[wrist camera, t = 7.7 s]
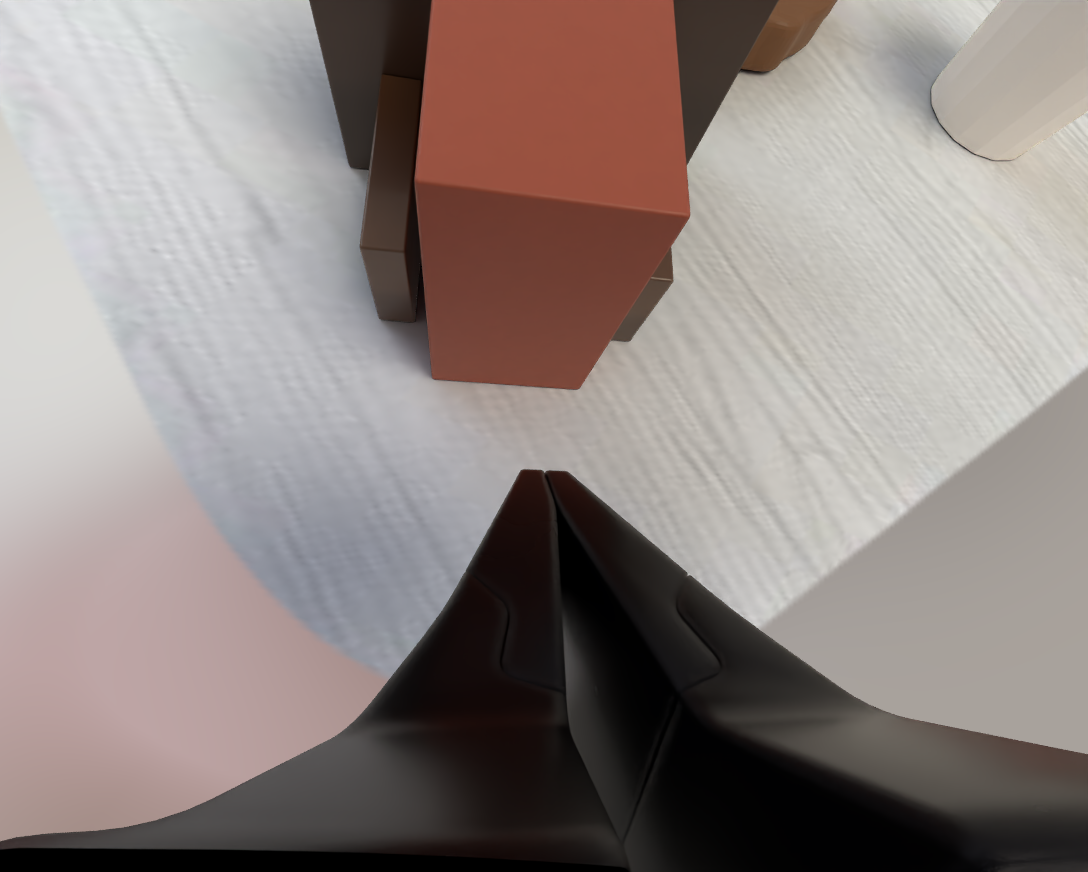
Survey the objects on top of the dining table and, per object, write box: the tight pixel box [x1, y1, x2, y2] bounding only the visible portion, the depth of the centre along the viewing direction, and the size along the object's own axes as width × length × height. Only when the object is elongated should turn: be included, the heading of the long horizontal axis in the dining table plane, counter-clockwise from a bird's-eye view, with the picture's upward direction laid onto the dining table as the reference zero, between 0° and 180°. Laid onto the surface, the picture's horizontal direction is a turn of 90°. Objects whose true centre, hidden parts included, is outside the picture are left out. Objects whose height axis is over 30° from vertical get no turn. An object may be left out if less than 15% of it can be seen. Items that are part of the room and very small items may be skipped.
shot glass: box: [931, 0, 1088, 160], centre depth 23 cm, size 7×7×7 cm
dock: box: [309, 0, 779, 341], centre depth 15 cm, size 10×12×9 cm
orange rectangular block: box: [414, 0, 690, 389], centre depth 15 cm, size 8×5×9 cm, turn 179°
